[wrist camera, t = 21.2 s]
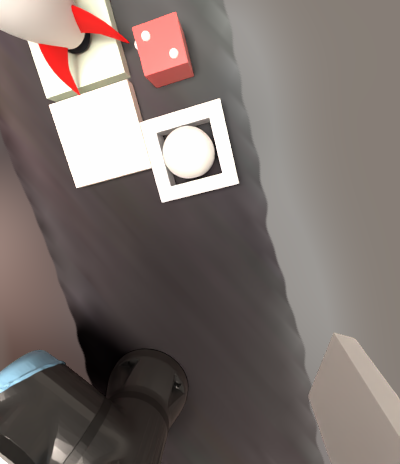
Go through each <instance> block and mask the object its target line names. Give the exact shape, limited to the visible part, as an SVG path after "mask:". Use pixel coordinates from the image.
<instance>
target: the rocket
mask: <svg viewBox="0 0 400 464" xmlns="http://www.w3.org/2000/svg"><path fill="white" fill-rule="evenodd" d="M0 30H2V31H5V32H7V33H9V34H11V35H14V36H16V37H19V38H22V39H24V40H28V41H31V42H34V43H38V45H39V47H40V50H41V52H42V54H43V56H44V58H45V60H46V62H47V63H48V65H49V66H50V68H51V69H52V70H53V72H54V73H55V74H56V75H57V76H58V77H59V78H60V79H61V80H62V81H63V82H64V83H65V84H66V85H67V86H68V87H70V88H71V89H72V90H73V91H74V92H75V93H77V94H78V95H79V96H80V93H79V91H78V88H77V86H76V84H75V82H74V79H73V77H72V75H71V72H70V69H69V63H68V52H69V53H72V54H79V53H82V52H83V51H85V50H86V48H87V47H88V45H89V42H90V33H95V34H101V35H105V36H108V37H111V38H114V39H117V40H120V41H123V42H125V43H129V41H127V40H126V39H125V38H124V37H123V36H122V35H120V34H119V33H118V32H117V31H116V30H115V29H113V28H112V27H111V26H110V25H108V24H107V23H106V22H104V21H103V20H101V19H100V18H98V17H96V16H95V15H93V14H91V13H89V12H87V11H85V10H83V9H81V8H79V7H77V6H76V5H75V3H74V0H0Z"/></svg>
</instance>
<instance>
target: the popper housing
mask: <svg viewBox="0 0 400 464" xmlns="http://www.w3.org/2000/svg"><path fill="white" fill-rule="evenodd" d="M208 122H211V127H212V131H213V135H214V139H215V144H216V148H217V152H218V157H219V161H220V165H221V169H222V173H221V174H217V175H213V176H209V177H205V178H201V179H198V180H194V181H190V182H186V183H182V184H178V185H176V183H175V180H174V176H173V173H172V172H171V171H170V170H169V169H168V167H167V166H166V164H165V162H164V158H163V145H164V138H163V135H167V134H170V133H171V132H172V131H174V130H175V129H177V128H179V127H182V126H193V127H195V126H198V125H202V124H205V123H208ZM140 126H141V130H142V133H143V137H144V141H145V144H146V148H147V151H148V155H149V159H150V162H151V166H152V169H153V173H154V176H155V180H156V184H157V187H158V191H159V194H160V198H161V202H166V201H170V200H174V199H178V198H183V197H187V196H191V195H195V194H199V193H203V192H207V191H211V190H215V189H219V188H223V187H227V186H231V185H235V184H239V182H238V177H237V173H236V168H235V164H234V159H233V155H232V150H231V146H230V142H229V137H228V133H227V128H226V124H225V119H224V115H223V110H222V106H221V101H220V99H216V100H213V101H210V102H206V103H203V104H200V105H196V106H193V107H190V108H186V109H183V110H180V111H176V112H173V113H170V114H166V115H163V116H160V117H156V118H153V119H150V120H146V121H143V122H140Z"/></svg>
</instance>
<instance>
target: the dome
mask: <svg viewBox="0 0 400 464" xmlns="http://www.w3.org/2000/svg"><path fill="white" fill-rule="evenodd" d="M163 158H164V162H165V164H166V166H167V167H168V169H169V170H170V171H171V172H172V173H173V174H175V175H177V176H179V177H181V178H195V177H199V176H202V175H204V174H205V173H206V172H208V171H209V169H210V168H211V167H212V165H213V163H214V160H215V147H214V144H213V142H212V140H211V139H210V138H209V137H208V135H207V134H206V133H205V132H204V131H202V130H201V129H199V128H197V127H193V126H182V127H179V128H177V129H175V130H174V131H172V132H171V133H170V134H169V135H168V136H167V138H166V140H165V142H164V145H163Z"/></svg>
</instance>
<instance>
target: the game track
mask: <svg viewBox="0 0 400 464" xmlns="http://www.w3.org/2000/svg"><path fill="white" fill-rule="evenodd" d="M74 3H75V5H76V6H77V7H79V8H81V9H83V10H85V11H87V12H89V13H91V14H93V15H95V16H96V17H98V18H100V19H101V20H103V21H104V22H106V23H107V24H108V25H110V26H111V27H112V28H113V29H115V30H116V31H117V32H118V30H117V26H116V22H115V19H114V15H113V12H112V8H111V4H110V1H109V0H74ZM28 43H29V46H30V49H31V52H32V55H33V58H34V61H35V64H36V67H37V70H38V73H39V76H40V79H41V82H42V85H43V88H44V91H45V94H46V97H47V99H50V100H53V101H55V102H57V103H54V104H51V105H49V106H50V110H51V113H52V116H53V119H54V122H55V125H56V128H57V131H58V134H59V137H60V140H61V143H62V146H63V149H64V152H65V155H66V158H67V161H68V164H69V167H70V170H71V173H72V176H73V179H74V182H75V185H76V188H79V187H85V186H89V185H93V184H97V183H100V182H104V181H108V180H111V179H115V178H119V177H122V176H126V175H130V174H133V173H137V172H141V171H145V170H148V169H152V166H151V162H150V159H149V155H148V151H147V148H146V144H145V141H144V137H143V133H142V130H141V126H140V122H143V120H142V116H141V113H140V109H139V106H138V102H137V98H136V95H135V91H134V87H133V84H132V83H130V82H129V81H128V80H125V79H128V78H131V77H130V73H129V69H128V66H127V62H126V59H125V55H124V51H123V48H122V44H121V41H120V40H117V39H114V38H111V37H108V36H105V35H101V34H95V33H90V42H89V45H88V47H87V48H86V50H85V51H83V52H82V53H79V54H72V53H69V52H68V63H69V69H70V72H71V75H72V77H73V79H74V82H75V84H76V86H77V88H78V91H79V93H80V94H81V95H80V96H79V95H78V94H77V93H75V92H74V91H73V90H72V89H71V88H70V87H68V86H67V85H66V84H65V83H64V82H63V81H62V80H61V79H60V78H59V77H58V76H57V75H56V74H55V73H54V72H53V70H52V69H51V68H50V66H49V65H48V63H47V62H46V60H45V58H44V56H43V54H42V52H41V50H40V47H39V45H38V43H34V42H31V41H28ZM121 80H124V81H121ZM118 81H121V82H118ZM115 82H118V83H115ZM112 83H115V84H112ZM109 84H112V85H109ZM106 85H108V86H106ZM103 86H105V87H103ZM100 87H102V88H100ZM97 88H99V89H97ZM94 89H96V90H94ZM91 90H93V91H91ZM88 91H90V92H88ZM85 92H87V93H85ZM82 93H84V94H82ZM76 95H78V96H76ZM73 96H75V97H73ZM70 97H72V98H70ZM67 98H69V99H67ZM64 99H66V100H64ZM61 100H63V101H61ZM58 101H60V102H58Z"/></svg>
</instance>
